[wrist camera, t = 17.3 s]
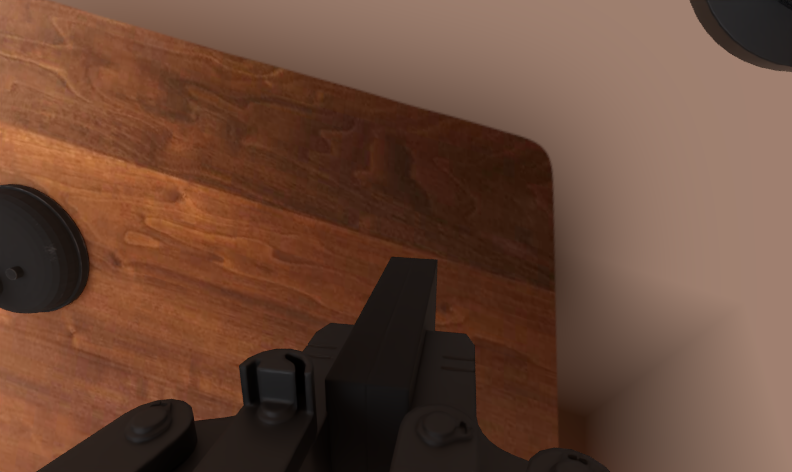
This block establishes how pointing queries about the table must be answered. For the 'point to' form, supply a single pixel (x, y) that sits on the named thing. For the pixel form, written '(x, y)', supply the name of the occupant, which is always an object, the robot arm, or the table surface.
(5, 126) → the table surface
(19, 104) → the table surface
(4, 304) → the desk lamp
